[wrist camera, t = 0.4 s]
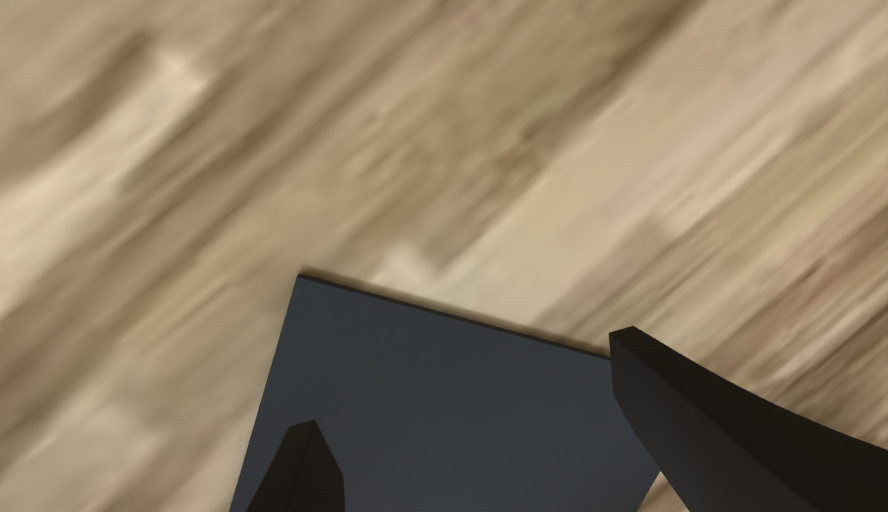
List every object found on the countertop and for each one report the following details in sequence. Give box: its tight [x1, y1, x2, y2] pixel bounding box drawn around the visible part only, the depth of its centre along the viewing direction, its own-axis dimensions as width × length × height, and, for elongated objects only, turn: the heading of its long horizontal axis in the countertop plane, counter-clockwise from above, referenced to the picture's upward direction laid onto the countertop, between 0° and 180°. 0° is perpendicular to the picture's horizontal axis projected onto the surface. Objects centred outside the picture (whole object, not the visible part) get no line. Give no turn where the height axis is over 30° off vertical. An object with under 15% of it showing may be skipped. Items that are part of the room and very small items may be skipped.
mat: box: [229, 274, 660, 512], centre depth 25 cm, size 14×22×1 cm, turn 70°
